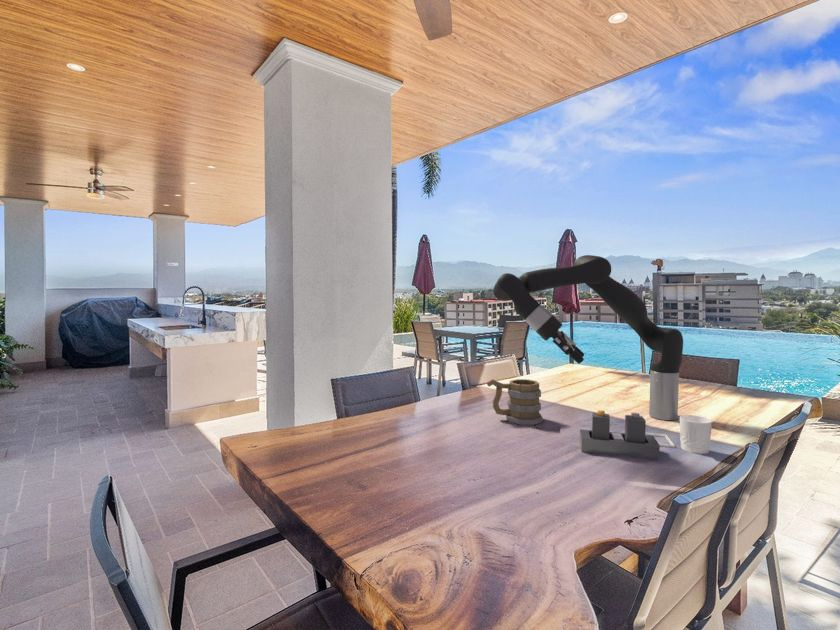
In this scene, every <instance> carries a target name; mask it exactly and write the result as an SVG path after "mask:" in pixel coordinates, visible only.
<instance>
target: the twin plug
mask: <svg viewBox="0 0 840 630" xmlns="http://www.w3.org/2000/svg"><path fill="white" fill-rule="evenodd" d="M624 418H625V420H624V421H625V422H624V433H625V441H629V442H640V443H645V433H646V430H647V429H646V426H647V425H646V423H647V422H646V421H647V420H646V419H645V418H644V416H643V415H640V413H638V412H631V414H625V417H624Z"/></svg>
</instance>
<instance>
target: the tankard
mask: <svg viewBox="0 0 840 630" xmlns="http://www.w3.org/2000/svg"><path fill="white" fill-rule="evenodd" d="M486 385H487V387H491V386H494V387H495V394H494V396H493V400H492V408H493V410H494V411H495V414H496V415H501V416H505V419H506V421H507V422H508V421H509V422H508V423H512V424H515V423H516V425H518V424H519V425H520V426H521V425H522V426H523V425H524V426H536V425H538V424H540V423H543V421H544V417H543V416H542V414H541V413H540V411H541V410H542V404H541V402H540V398H541V397H542V390H541V389H540V383H539V381H537V380H533V379H526V378H525V379H523V378H522V379H520V378H516V379H512V380H509V383H503V382H500V381H497V380H495V379H493V378H492V379H490V380H488V381H487V382H486ZM503 389H507V394H508V397H509V399H508V400H507V407H508V408H500V405H499V403H500V400H501V397H502V394H503Z"/></svg>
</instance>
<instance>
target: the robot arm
mask: <svg viewBox="0 0 840 630" xmlns="http://www.w3.org/2000/svg"><path fill="white" fill-rule="evenodd" d="M611 273H612V265H611V263H610V261H609V259H607V258H605V257H602V256H598V255H591V254H586V255H585V254H584V255H581V256H579V257H578V258H577V259H575V261H574V263H573V265H571V266H564V267H554V268H553V267H550V268H549V267H548V268H541V269H537V270H532V271H527V272H524V273H522V274H521V275H520V276H516V275H514V274H513V273H510V272H507V273H503V274H501V275H500V276H499V277H498V279H497V281H496V282H495V283H494V286H493V290H492V291H493V295H494V297H495V298H496V299H497V300H498V301H503V302H507V301H511V302H512V303H513V305H514V307H513V309H514V311H515V312H516V314H518V316H520V317H521V318H522V319H523V320H524V321H525V322H526V323H527V324H528V326H529V327H530V328H531V329H532V330H533V331H534V332H535V333H536V334H538V335H539V336H540V337H541V339H542V340H543V341H548V340H549V339H550V338H552V343H553V344H555V345H556V346H557V347H558V348H559V349H560V350H561V351H562V352H563V353H564V354H565V355H566V356H569V357H570V358H571V359H573V360H574V361H575V362H576V363H577V364H578V365H579V364H581V363H582V362H583V361H584V360H585V359H584V356H585V353H584V352H583V351H582V350H581V349H580V348H579V347H578V346H577V345H576V342H575V341H573V340H572V338H570V337H569V336H568V335H567V333H566V332H564V331H562V330H560V329H561V328H562V327H563V323H562V322H561V321H560V320H559V319H558V318H556V316H554V315H553V314H552V312H551V311H549V310H548V309H547V308H546V307H544V306H543V305H541V303H540V302H539V301H538V300H536V299H535V298H534V297H533V296H532V295H531V294H532V293H533V294H534V293H536V292H537V293H538V292H541V291H546V290H551V289H556V288H561V287H566V286H567V287H568V286H573V285H583V284H585V285H586V286H587V287H588V288H590V289H591V290H593V292H595V293H596V295H598V296H599V297H600V298H601V300H603V302H604V303H606V305H607V306H609V307H610V309H611V310H612V311H613V312H614V313H616V315H617V316H618V317H620V318H621V319H622V321H624V322H625V323H626V324H627V325H628V326H629V327H630V328H631V329H633V331H634V332H635V333H636V335H638V336H639V338H640V339H641V340H642V341H643V343H644V344H645V345H646V346H647V348H649V350H651V351H653V352H657V353H661V355H660V359H659V360H658V359H657V360H655V361H652V362H651V363H650V367H649V368H650V370H649V373H650V374H649V376H650V377H649V404H648V405H649V408H648V410H649V411H648V414H649V417H650V418H653V419H657V420H661V421H676V420H678V419H679V413H678V412H679V391H680V389H679V388H680V387H679V386H680V368H681V365H682V362H683V351H684V350H683V349H684V337H683V334H682V332H681V331H680V330H679V329H677V328H671V327H662V326H661V327H660V326H658V325H657V324H655V323H654V322H653V321H652V320H651V319H650V318H649V317H648V316H649V315H648V309H647V308H648V307H647V305H646V304H645V302H644V301H643V300H642V299H641V297H639V296H638V295H637V293H635V291H633V290H631V289H630V288H629V287H627V286H625V285H624V284H622V283H621V282H619V281H617V280H616V279H614V278H612V277H611Z"/></svg>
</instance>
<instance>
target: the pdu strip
mask: <svg viewBox="0 0 840 630" xmlns="http://www.w3.org/2000/svg"><path fill="white" fill-rule="evenodd" d="M659 444H660V443H659V442H658V441H657V439H656V438H655V436H651V435H645V443H640V442H629V441H625V432H616V431H615V432H614V431H613V432H612V431H609V440H607V439H596V438H592V429H591V430H590V429H579V445H580V450H581V451H580V452H581V453H586V454H587V453H588V454H597V455H606V456H608V455H609V456H617V457H626V458H627V457H628V458H629V457H630V458H638V459H639V458H640V459H645V460H646V459H648V460H658V461H660V451H661V449H660V445H659Z"/></svg>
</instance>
